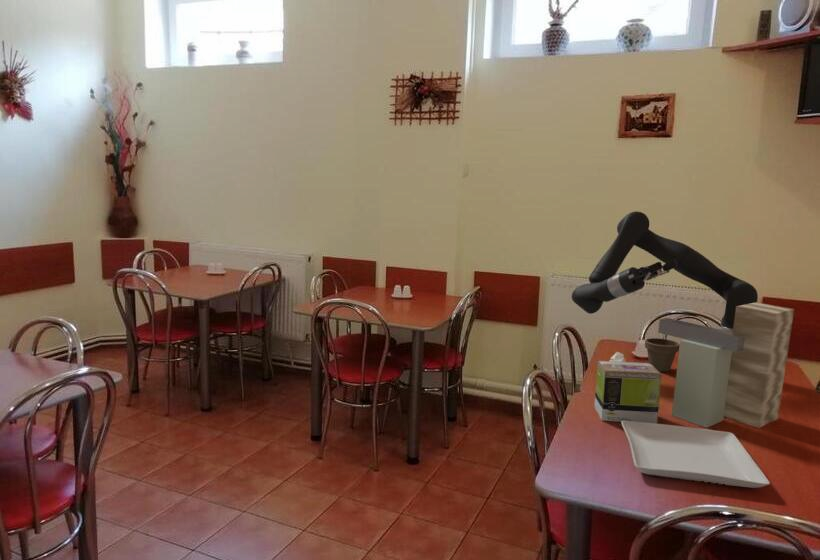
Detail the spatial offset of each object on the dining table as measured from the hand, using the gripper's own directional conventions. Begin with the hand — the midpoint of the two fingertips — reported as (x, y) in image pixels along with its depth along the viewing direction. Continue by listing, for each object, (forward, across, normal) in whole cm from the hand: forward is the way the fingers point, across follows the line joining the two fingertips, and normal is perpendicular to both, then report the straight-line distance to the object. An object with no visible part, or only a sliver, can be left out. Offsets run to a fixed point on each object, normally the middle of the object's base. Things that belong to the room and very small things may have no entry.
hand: (669, 263), depth 179 cm
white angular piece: (-25, -12, +33) cm, 43 cm away
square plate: (+6, -37, +51) cm, 63 cm away
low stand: (-5, -9, +45) cm, 46 cm away
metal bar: (+5, -9, +24) cm, 27 cm away
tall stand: (+2, +5, +49) cm, 49 cm away
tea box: (-15, -26, +39) cm, 49 cm away
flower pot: (-32, +24, +29) cm, 49 cm away
